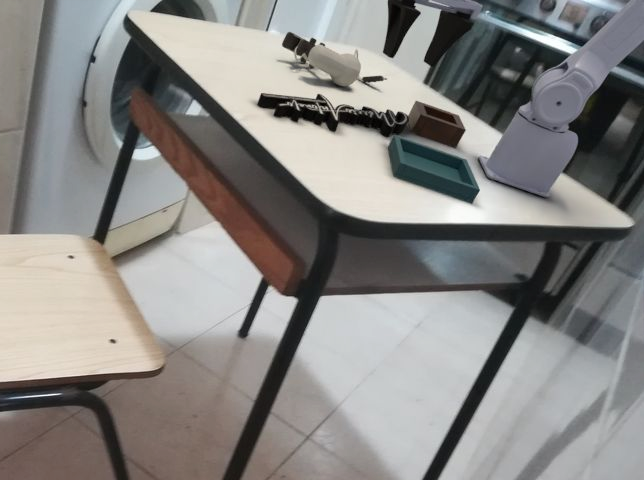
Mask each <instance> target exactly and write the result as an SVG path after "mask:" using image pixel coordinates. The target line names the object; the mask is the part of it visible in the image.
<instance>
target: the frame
mask: <svg viewBox="0 0 644 480" xmlns="http://www.w3.org/2000/svg"><path fill="white" fill-rule="evenodd" d="M407 116H408V117H409V122H408V126H409V129H410V132H411V133H412V134H414V135H417V136H420V137H422V138H423V137H424V138H426V139H429V140H432V141H435V142H438V143H440V144H444V145H447V146H449V147H452V148H455V149H456V148H457V147H458V145H459V143H460V141H461V140H462V138H463V136H464V134H465V133H466V131H467V130H466V127H465V125H464V123H463V121H462V119H461V118H460V117H461V116H460V115H459V114H456V113H454V112H451V111H448V110H444V109H442V108H439V107H436V106H433V105H430V104H427V103H425V102H421V101H418V100H415V101H414V103H413V105H412V107H411V109H410V111H409V113H408V114H407Z"/></svg>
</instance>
